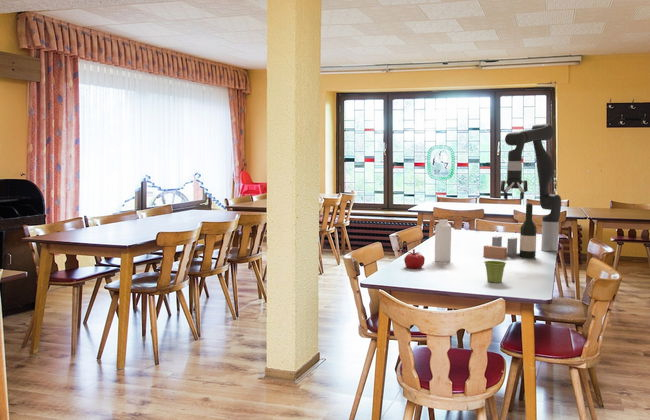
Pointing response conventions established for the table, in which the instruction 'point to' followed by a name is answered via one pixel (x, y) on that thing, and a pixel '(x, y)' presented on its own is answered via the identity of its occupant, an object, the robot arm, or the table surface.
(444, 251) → the milk
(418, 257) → the red apple
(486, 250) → the rectangular block
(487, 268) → the plant pot
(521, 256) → the wine bottle
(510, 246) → the stand
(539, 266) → the table surface
